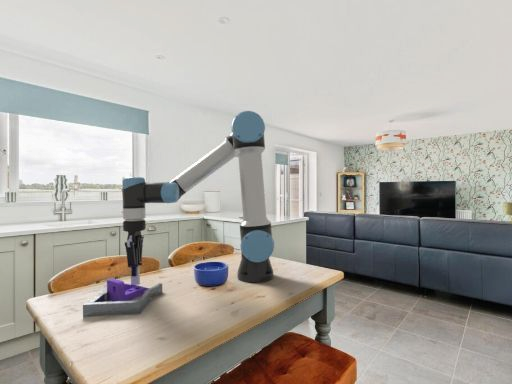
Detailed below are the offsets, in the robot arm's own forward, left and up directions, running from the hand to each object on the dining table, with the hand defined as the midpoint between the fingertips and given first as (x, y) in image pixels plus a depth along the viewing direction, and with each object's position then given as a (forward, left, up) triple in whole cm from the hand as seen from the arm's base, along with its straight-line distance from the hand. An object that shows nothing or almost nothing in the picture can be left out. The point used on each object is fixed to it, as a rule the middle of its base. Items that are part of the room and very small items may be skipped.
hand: (135, 284), depth 102 cm
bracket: (0, +5, -3) cm, 6 cm away
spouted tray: (0, +11, -3) cm, 11 cm away
